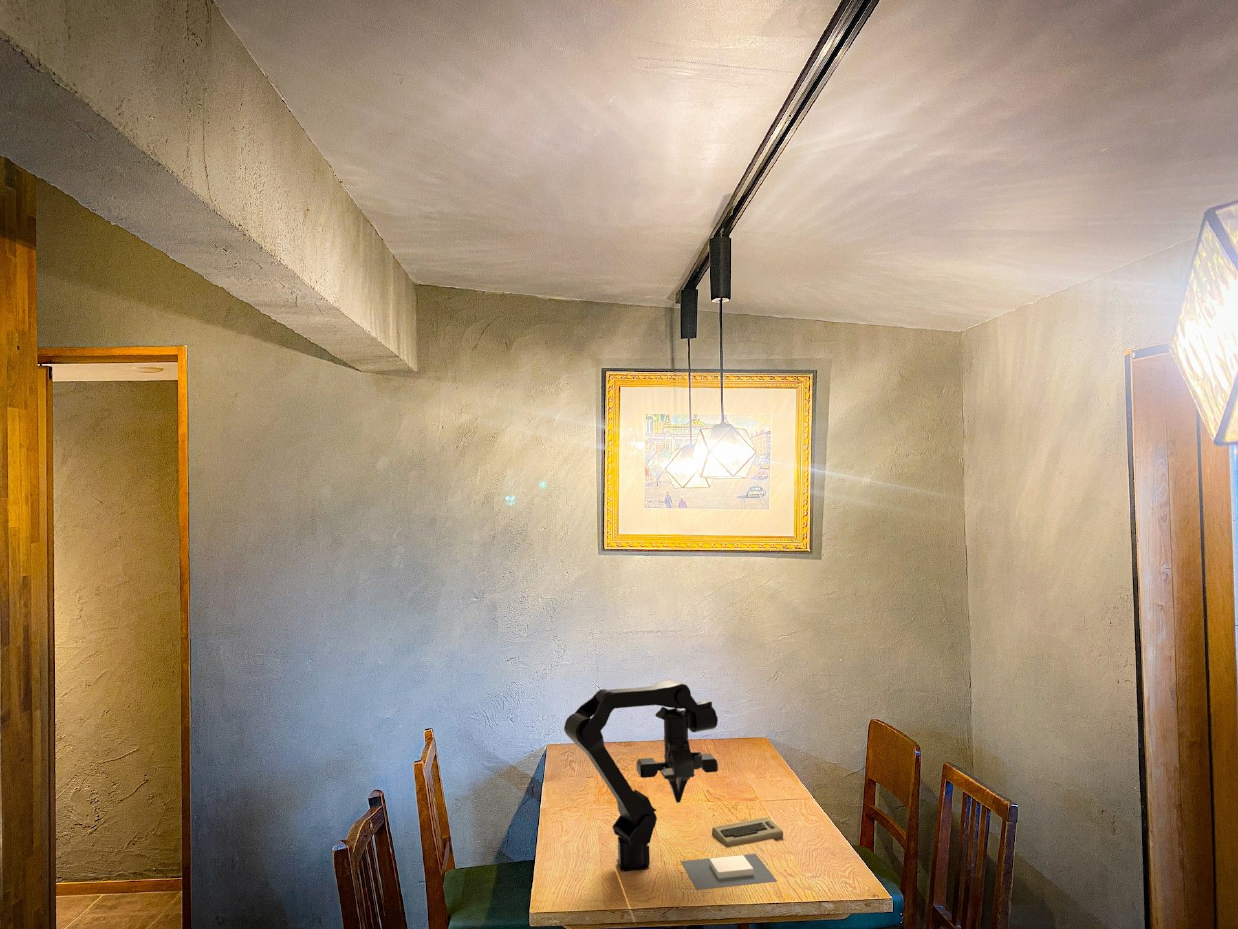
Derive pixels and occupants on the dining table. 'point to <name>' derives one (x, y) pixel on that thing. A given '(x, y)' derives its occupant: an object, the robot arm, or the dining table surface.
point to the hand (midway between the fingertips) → (678, 802)
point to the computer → (747, 831)
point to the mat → (707, 879)
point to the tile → (731, 867)
